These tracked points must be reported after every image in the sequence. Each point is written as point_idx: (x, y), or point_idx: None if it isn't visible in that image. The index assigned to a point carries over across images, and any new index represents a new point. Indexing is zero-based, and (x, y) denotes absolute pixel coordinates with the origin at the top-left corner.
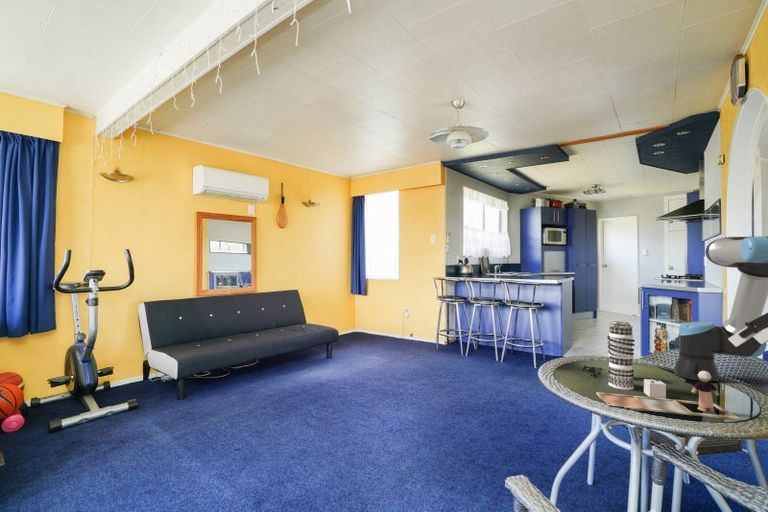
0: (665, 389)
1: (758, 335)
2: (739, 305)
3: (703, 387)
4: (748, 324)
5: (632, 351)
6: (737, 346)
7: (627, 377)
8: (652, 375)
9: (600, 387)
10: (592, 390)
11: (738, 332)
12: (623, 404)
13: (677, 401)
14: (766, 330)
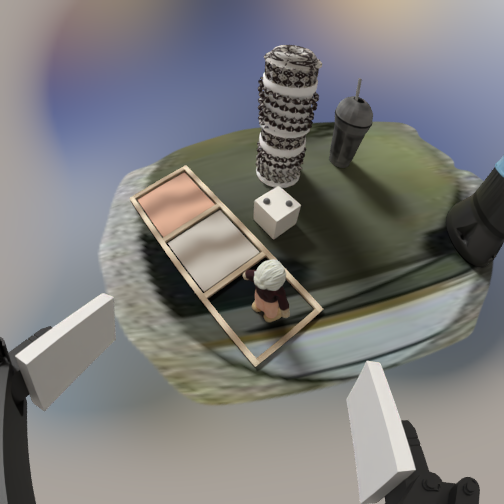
0: (275, 227)
1: (366, 387)
2: None
3: (256, 287)
4: None
5: (364, 128)
6: (115, 339)
7: (270, 166)
8: (407, 188)
9: (233, 158)
10: (202, 158)
11: (61, 324)
12: (157, 209)
13: (268, 258)
14: (378, 428)
